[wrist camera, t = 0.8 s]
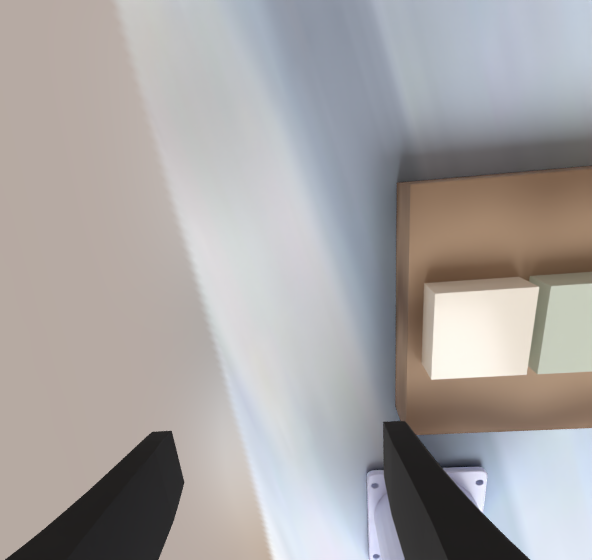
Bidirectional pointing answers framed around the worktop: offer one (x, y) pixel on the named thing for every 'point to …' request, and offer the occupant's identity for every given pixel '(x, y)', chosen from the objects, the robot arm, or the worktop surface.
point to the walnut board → (487, 265)
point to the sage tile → (562, 324)
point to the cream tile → (478, 327)
